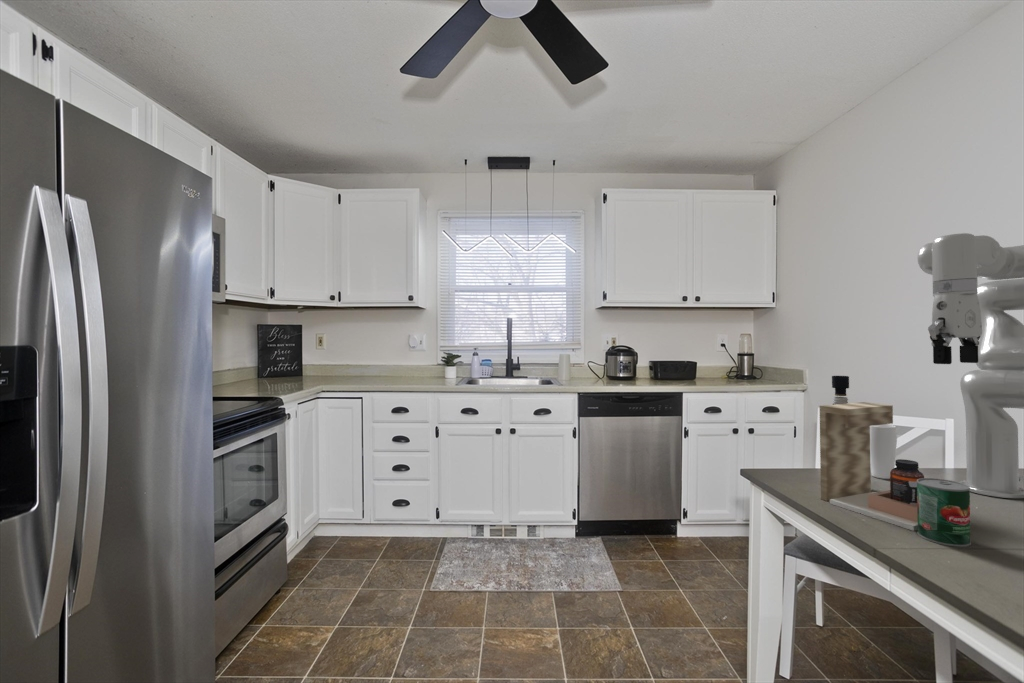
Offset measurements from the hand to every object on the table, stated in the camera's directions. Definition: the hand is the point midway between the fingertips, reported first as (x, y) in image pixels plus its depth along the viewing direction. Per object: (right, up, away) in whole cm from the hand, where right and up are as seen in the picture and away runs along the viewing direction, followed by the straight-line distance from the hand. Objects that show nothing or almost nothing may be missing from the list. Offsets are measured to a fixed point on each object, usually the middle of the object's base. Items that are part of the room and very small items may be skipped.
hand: (955, 363), depth 108 cm
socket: (-14, -35, +1) cm, 37 cm away
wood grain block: (-16, -35, +10) cm, 39 cm away
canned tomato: (-16, -35, -14) cm, 40 cm away
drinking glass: (+5, -35, +28) cm, 45 cm away
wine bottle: (-11, -35, +21) cm, 42 cm away
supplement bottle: (-12, -34, -1) cm, 36 cm away
